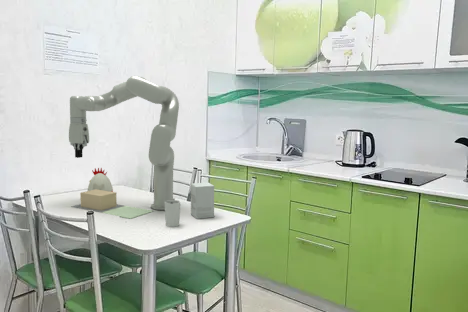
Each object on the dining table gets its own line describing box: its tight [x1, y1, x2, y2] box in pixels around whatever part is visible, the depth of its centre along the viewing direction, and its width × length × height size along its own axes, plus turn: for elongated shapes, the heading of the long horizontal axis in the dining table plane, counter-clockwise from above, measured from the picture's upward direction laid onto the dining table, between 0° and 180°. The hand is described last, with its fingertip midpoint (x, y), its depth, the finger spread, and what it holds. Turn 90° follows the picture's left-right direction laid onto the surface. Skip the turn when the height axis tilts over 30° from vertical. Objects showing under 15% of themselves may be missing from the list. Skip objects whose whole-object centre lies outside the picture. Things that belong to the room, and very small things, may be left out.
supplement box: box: [190, 182, 215, 220], centre depth 190 cm, size 9×9×15 cm
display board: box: [70, 203, 154, 220], centre depth 199 cm, size 39×16×1 cm, turn 62°
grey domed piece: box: [87, 167, 114, 192], centre depth 234 cm, size 14×14×15 cm
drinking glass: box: [164, 199, 181, 227], centre depth 175 cm, size 7×7×10 cm
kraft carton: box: [79, 189, 118, 210], centre depth 202 cm, size 14×10×7 cm
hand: (78, 157), depth 206 cm, fingers closed
